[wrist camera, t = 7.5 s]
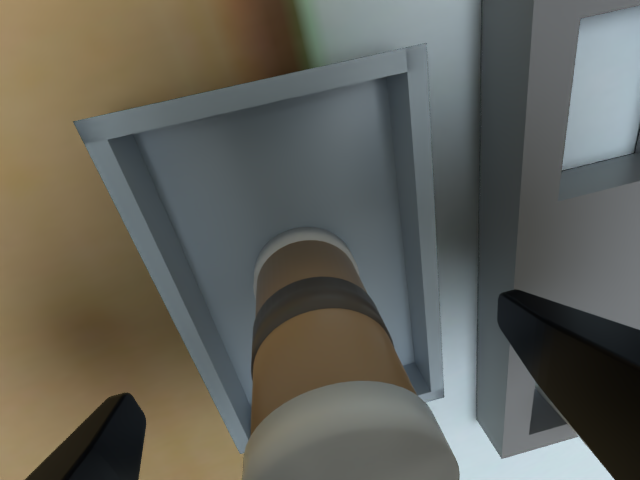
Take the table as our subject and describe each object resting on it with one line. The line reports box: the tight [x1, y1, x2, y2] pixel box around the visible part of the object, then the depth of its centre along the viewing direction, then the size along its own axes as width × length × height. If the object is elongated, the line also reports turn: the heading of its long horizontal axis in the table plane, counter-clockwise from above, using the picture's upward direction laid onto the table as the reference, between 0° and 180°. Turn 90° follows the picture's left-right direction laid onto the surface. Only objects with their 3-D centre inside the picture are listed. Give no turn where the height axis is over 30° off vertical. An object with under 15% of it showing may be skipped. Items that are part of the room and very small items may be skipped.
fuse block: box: [477, 0, 640, 459], centre depth 12 cm, size 18×7×2 cm, turn 11°
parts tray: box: [73, 43, 444, 454], centre depth 11 cm, size 12×8×2 cm, turn 11°
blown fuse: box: [242, 227, 460, 480], centre depth 8 cm, size 3×3×7 cm
